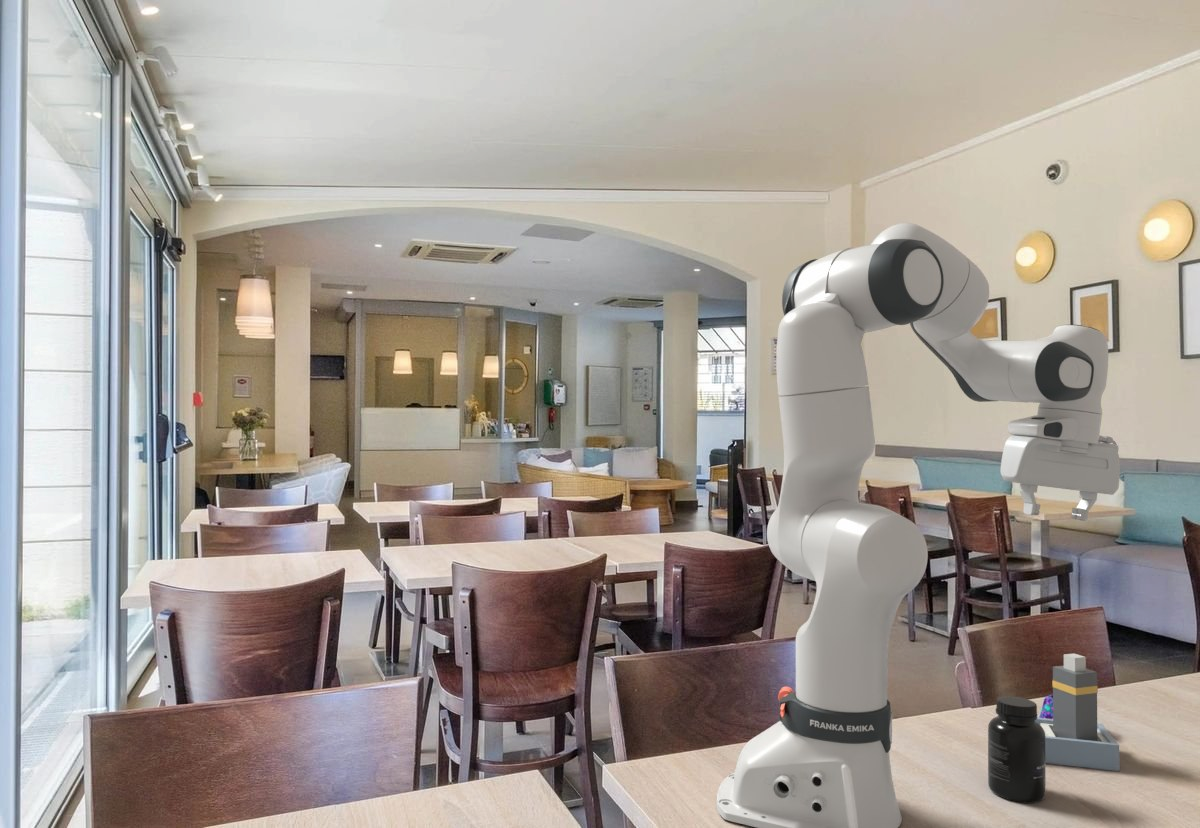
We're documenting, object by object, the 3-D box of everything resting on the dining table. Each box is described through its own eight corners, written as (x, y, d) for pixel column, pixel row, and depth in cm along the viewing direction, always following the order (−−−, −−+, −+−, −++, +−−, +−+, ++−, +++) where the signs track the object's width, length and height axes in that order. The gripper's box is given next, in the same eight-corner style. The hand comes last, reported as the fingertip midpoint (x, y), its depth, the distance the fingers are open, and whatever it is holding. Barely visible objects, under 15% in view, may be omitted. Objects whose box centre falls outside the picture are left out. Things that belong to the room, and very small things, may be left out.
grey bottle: (1076, 758, 121) (1075, 660, 121) (1052, 747, 125) (1052, 653, 125) (1098, 754, 122) (1097, 658, 122) (1074, 744, 126) (1073, 651, 126)
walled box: (1009, 759, 122) (1009, 734, 122) (999, 737, 130) (999, 714, 130) (1119, 771, 118) (1119, 745, 118) (1101, 747, 126) (1101, 723, 126)
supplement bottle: (1053, 806, 107) (1052, 711, 107) (995, 801, 108) (995, 708, 108) (1036, 784, 113) (1036, 695, 113) (982, 779, 115) (982, 691, 115)
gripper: (1102, 436, 138) (1090, 519, 138) (999, 421, 132) (988, 508, 132) (1136, 439, 132) (1124, 526, 132) (1030, 423, 126) (1018, 514, 126)
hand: (1055, 517), depth 132 cm, fingers open, 8 cm apart
